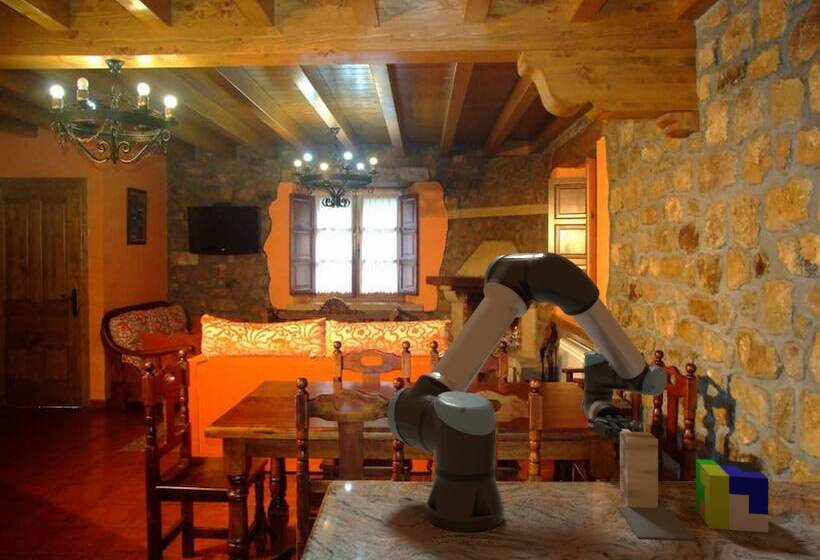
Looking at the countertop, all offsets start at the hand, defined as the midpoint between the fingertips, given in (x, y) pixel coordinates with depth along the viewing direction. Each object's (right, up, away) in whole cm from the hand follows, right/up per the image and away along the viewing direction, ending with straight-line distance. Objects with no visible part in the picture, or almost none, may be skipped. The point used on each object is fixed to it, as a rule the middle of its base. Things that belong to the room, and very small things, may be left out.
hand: (632, 442), depth 132 cm
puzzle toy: (+14, -11, -14) cm, 23 cm away
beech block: (-1, -11, -6) cm, 12 cm away
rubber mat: (-2, -11, -16) cm, 20 cm away
